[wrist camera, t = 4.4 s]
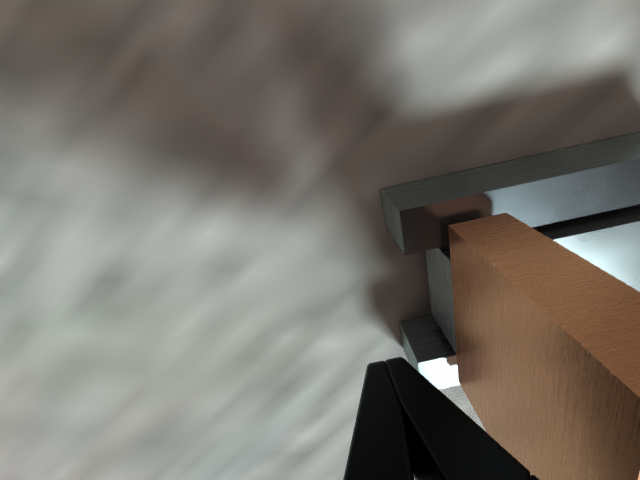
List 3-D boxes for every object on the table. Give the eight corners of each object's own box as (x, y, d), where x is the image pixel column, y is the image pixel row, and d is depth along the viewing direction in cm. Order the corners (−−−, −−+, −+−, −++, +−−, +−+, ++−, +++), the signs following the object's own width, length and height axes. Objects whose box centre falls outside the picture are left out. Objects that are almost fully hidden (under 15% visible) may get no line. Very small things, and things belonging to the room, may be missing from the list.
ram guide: (654, 128, 10) (732, 138, 8) (626, 301, 13) (681, 338, 11) (380, 188, 10) (399, 211, 9) (403, 349, 13) (422, 392, 11)
